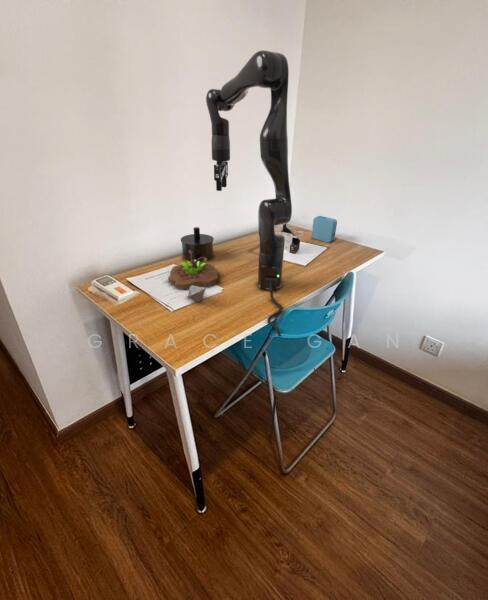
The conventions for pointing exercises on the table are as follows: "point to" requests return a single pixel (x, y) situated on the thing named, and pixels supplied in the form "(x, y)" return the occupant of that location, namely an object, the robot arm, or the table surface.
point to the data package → (324, 228)
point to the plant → (193, 274)
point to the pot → (198, 251)
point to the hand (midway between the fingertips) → (221, 188)
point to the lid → (197, 238)
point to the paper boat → (196, 293)
